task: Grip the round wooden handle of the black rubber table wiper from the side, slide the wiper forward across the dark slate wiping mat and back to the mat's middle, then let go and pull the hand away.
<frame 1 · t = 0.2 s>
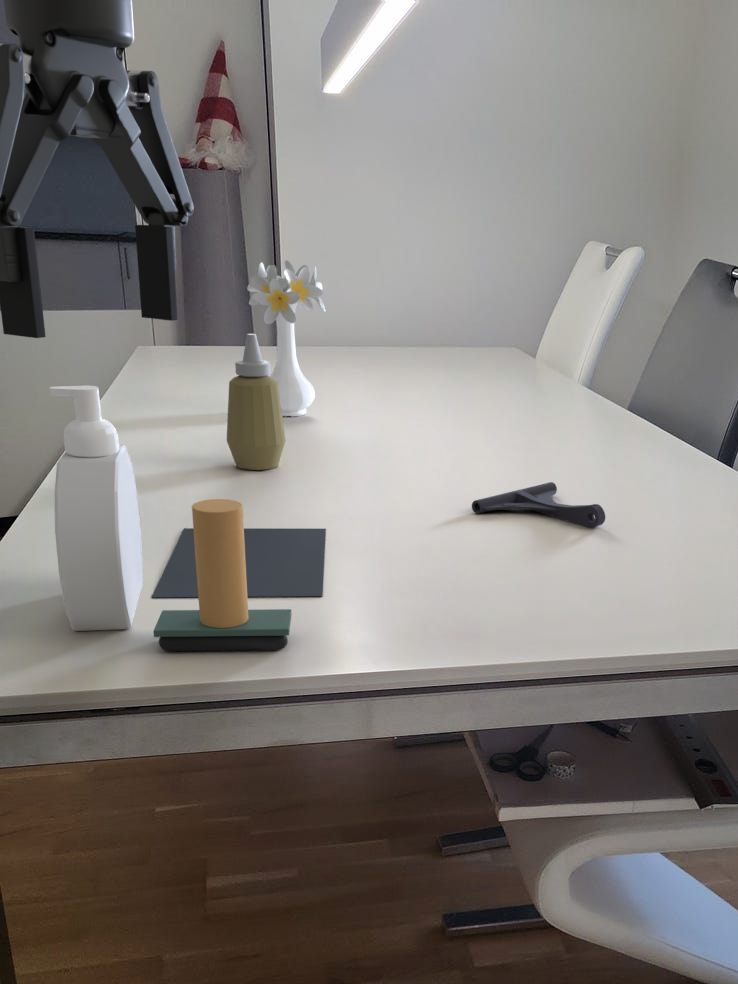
hand: (97, 327, 72), 27 cm above the table, tool pointing down, fingers open, 13 cm apart
wipe mat: (247, 560, 109), on the table
squeeze bottle: (257, 467, 146), on the table
wiper: (225, 643, 89), on the table
flower vase: (291, 415, 181), on the table
bracket: (553, 516, 129), on the table
soap bottle: (107, 609, 95), on the table
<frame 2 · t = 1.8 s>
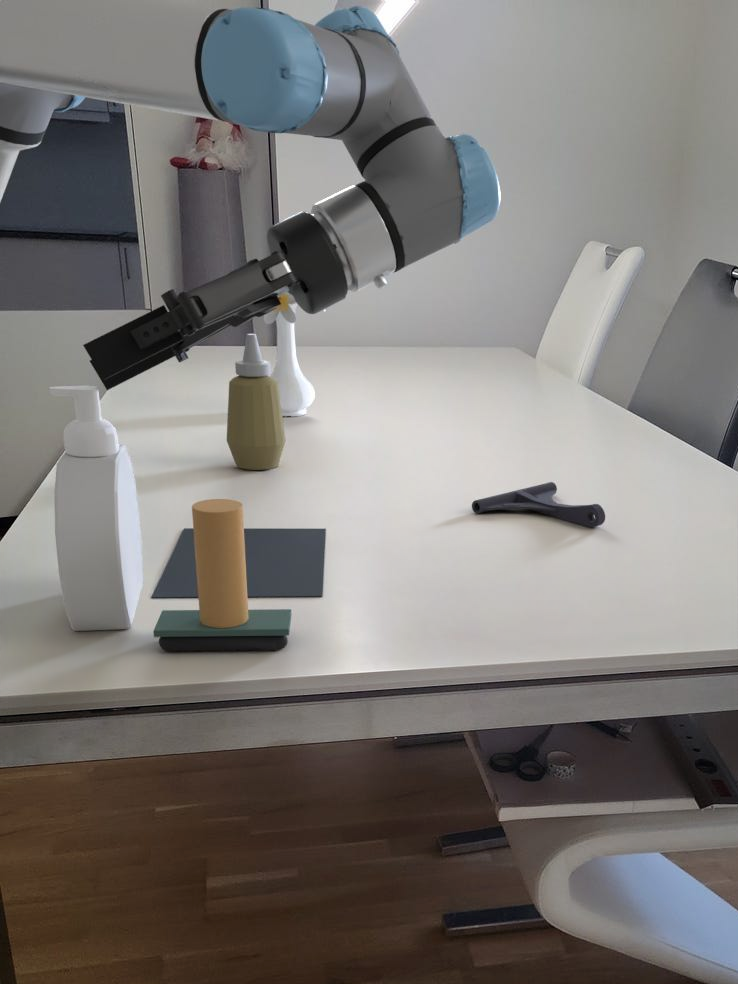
hand: (95, 370, 82), 22 cm above the table, tool tilted 65°, fingers open, 13 cm apart
nothing on the table moved.
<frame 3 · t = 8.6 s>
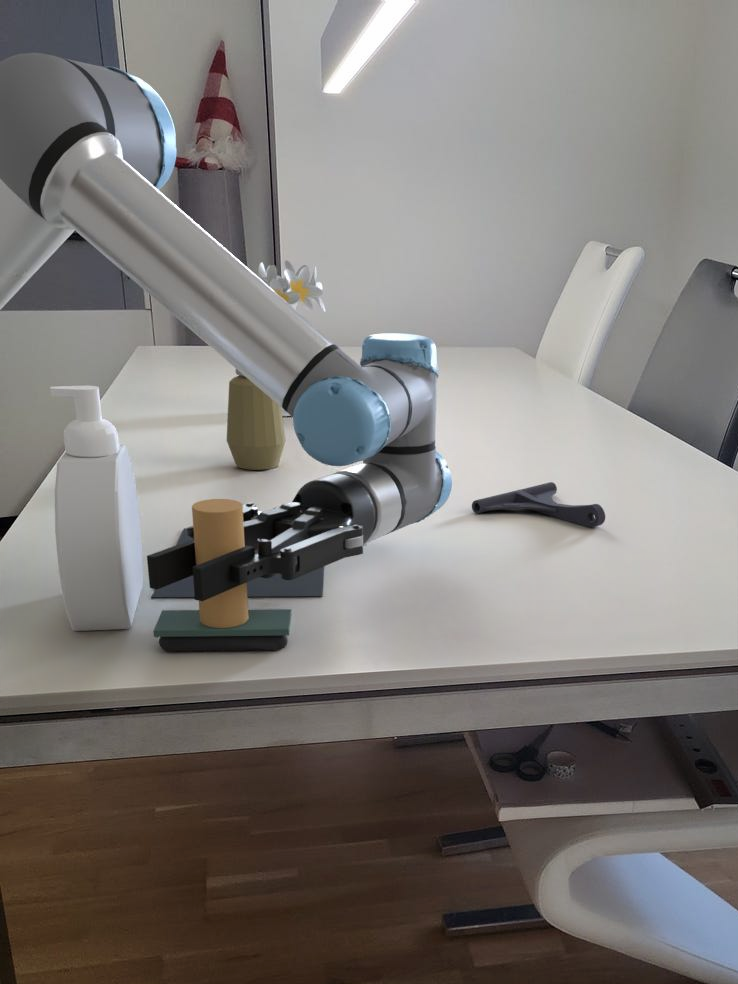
hand: (174, 578, 81), 8 cm above the table, tool horizontal, fingers closed on wiper, 4 cm apart
wiper: (226, 643, 89), on the table, touching gripper
everything else where it was.
when the fingers open (7 cm above the table, at t = 21.8 s): wiper stays where it is, resting on wipe mat.
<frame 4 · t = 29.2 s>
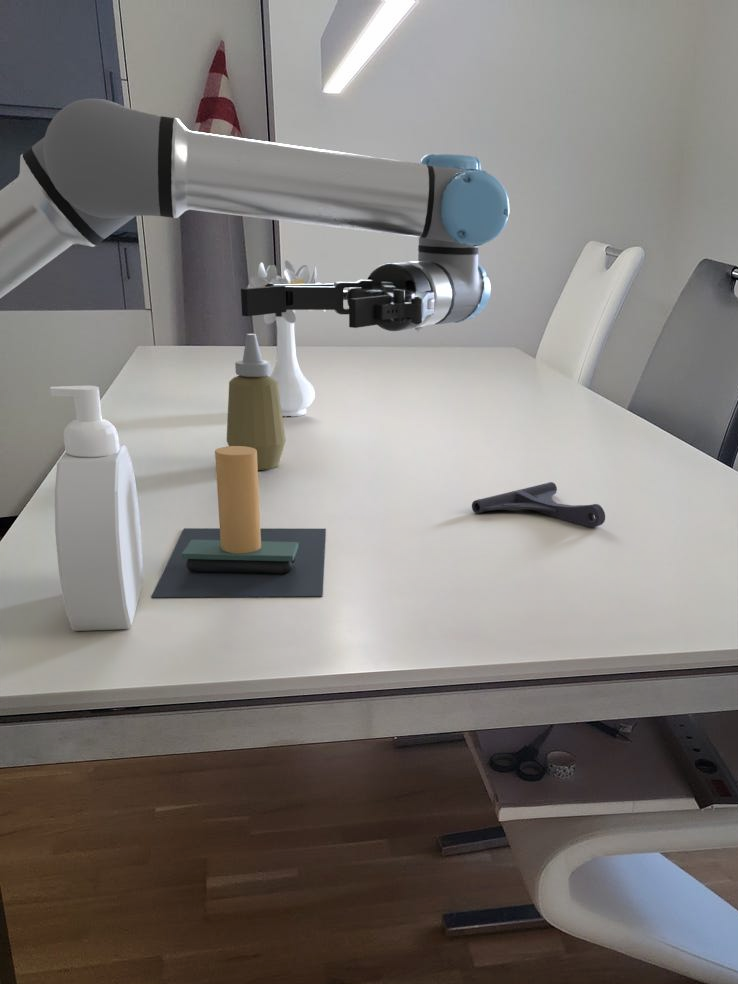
hand: (296, 307, 105), 25 cm above the table, tool horizontal, fingers open, 13 cm apart
wiper: (242, 568, 106), resting on wipe mat
everything else where it was.
at the end: wiper inside the target area on the wipe mat (2.8 cm from its centre), point 0.1 cm above the wipe mat's base; wiper tilted 0°; the gripper is holding nothing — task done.
